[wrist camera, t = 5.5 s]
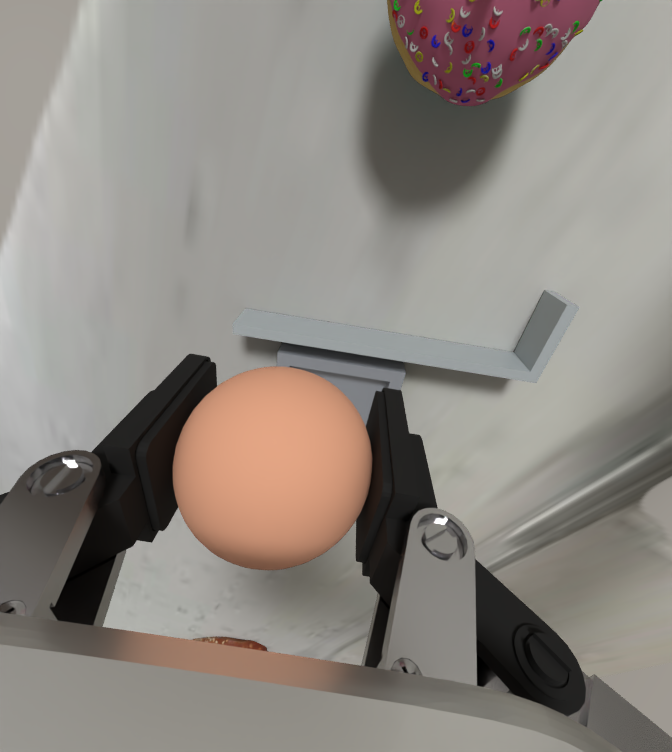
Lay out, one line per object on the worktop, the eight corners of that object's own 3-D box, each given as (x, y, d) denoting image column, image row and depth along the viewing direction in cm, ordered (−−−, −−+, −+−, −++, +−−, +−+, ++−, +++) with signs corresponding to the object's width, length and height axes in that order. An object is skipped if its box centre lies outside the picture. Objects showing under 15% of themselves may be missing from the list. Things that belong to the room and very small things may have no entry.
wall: (555, 291, 23) (579, 306, 20) (519, 362, 26) (536, 383, 24) (245, 240, 23) (230, 248, 20) (245, 317, 26) (232, 334, 23)
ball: (387, 350, 10) (406, 494, 5) (354, 468, 12) (350, 625, 8) (216, 321, 9) (97, 443, 5) (220, 445, 12) (144, 594, 8)
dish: (403, 361, 27) (405, 373, 25) (377, 448, 32) (378, 462, 31) (282, 342, 27) (277, 352, 25) (276, 433, 32) (272, 446, 30)
